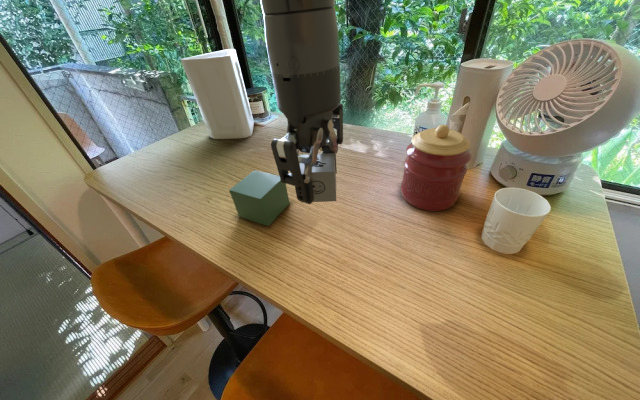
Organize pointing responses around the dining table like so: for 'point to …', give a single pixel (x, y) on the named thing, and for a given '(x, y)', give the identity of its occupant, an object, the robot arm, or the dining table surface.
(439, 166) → the kitchen canister
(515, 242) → the white cup
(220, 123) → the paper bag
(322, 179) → the dice cube
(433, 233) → the dining table surface
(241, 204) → the green block
